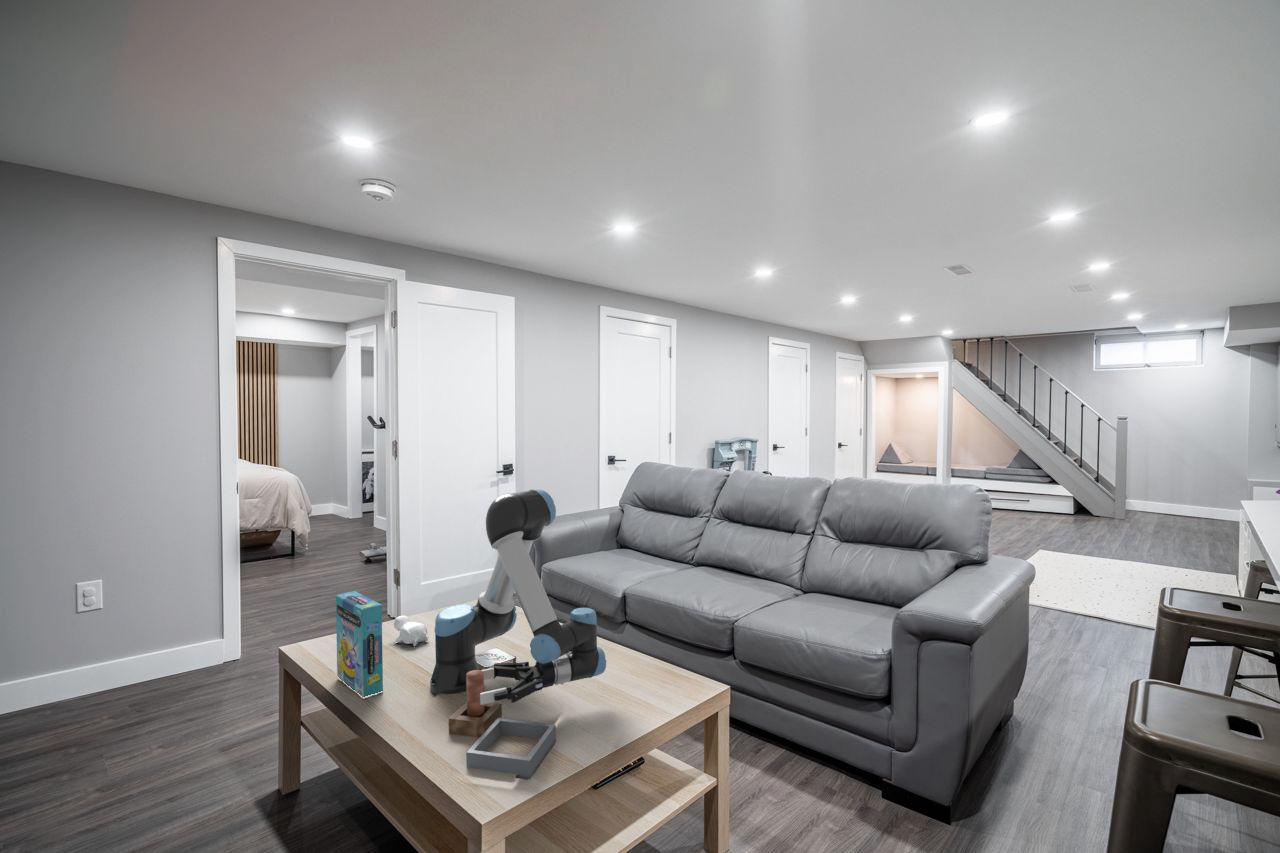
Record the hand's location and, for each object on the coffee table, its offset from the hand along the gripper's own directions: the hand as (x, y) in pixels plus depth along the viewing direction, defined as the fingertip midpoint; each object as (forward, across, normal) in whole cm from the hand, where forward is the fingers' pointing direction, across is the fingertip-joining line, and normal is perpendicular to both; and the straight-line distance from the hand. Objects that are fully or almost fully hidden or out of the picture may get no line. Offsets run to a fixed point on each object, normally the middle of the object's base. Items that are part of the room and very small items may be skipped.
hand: (474, 688), depth 155 cm
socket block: (0, +1, -11) cm, 11 cm away
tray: (-6, -16, -11) cm, 20 cm away
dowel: (0, +1, -10) cm, 10 cm away
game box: (+26, +44, -12) cm, 52 cm away
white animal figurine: (+9, +75, -12) cm, 76 cm away
